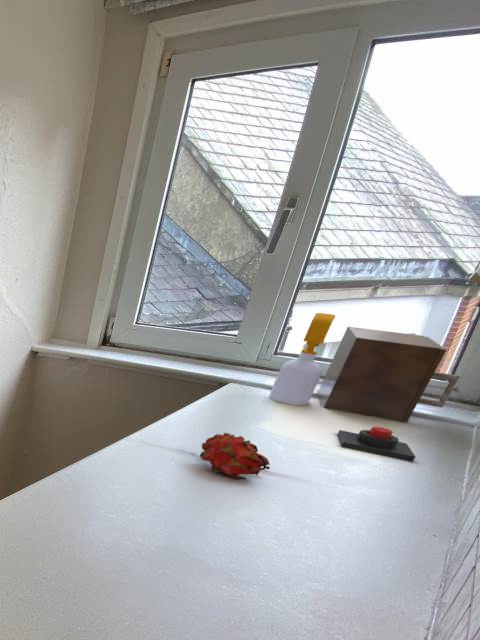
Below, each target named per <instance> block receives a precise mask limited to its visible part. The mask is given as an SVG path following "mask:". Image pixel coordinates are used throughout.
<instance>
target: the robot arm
mask: <svg viewBox="0 0 480 640" xmlns="http://www.w3.org/2000/svg"><path fill="white" fill-rule="evenodd" d="M467 280H468V282H471V283H475V284H479V285H480V260H479V261H478V263H476V266H475V268H474V270H473V272H472V274H471V275H469V277H468V278H467ZM476 306H477V307H478V311H480V300H479V301H478V303H477V305H476Z"/></svg>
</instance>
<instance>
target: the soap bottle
mask: <svg viewBox="0 0 480 640" xmlns="http://www.w3.org/2000/svg"><path fill="white" fill-rule="evenodd" d="M335 318H336V314H332V313H321V312H315V315H314V317H313V318H312V320H311V322H310V324H309V327H308V329H307V332H306V334H305V337H304V339H303V342H306V343H305V345H306V346H307V347H306V349H301V351H300V354H299V355H298V357H297V358H294V359H291V360H288V361H286V362H284V363H283V364H282V366H280V369H279V371H278V373H277V376H276V379H275V381H274V383H273V385H272V388H271V390H270V392H269V394H268V397H269V399H271V400H273V401H276V402H279V403H284V404H286V405H287V404H288V405H292V406H293V405H294V406H308V404H309V403H310V400H311V398H312V396H313V394H314V392H315V389H316V387H317V385H318V383H319V380H320V378H321V377H322V374H323V368H321V366H320V365H319V364H318V363H317V362H316V361H315V358H316V356H317V354H318V352H317V351H315V349H316V347H319V346H320V345H323V344H324V343H325V339H326V337H327V334H328V332H329V330H330V329H331V325H332V324H333V321H334V320H335Z"/></svg>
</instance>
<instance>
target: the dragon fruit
mask: <svg viewBox="0 0 480 640" xmlns="http://www.w3.org/2000/svg"><path fill="white" fill-rule="evenodd" d="M201 449H202V450H203V451H201V452H200V454H199V458H201V460H203V461H206V462H207V461H208V462H209V463H210V465H211V469H212V470H213V472H214V474H215V473H219V472H222V473H223V474H226V475H228V476H230V477H232V479H234V480H240V481H241V480H242V481H243V480H244V481H245V480H248V478H247V477H245V476H246V475H256V476H258V475H259V474H260V472H261V471H263V470H270V467H271V466H270V465H271V463H270V462H269V459H268V457H266V456H264V455H263V454H260V453H259V452H258V451H259V449H258V446H257V445H256V444H254V443H252V442H251V440H249V439H247V440H246V439H245V437H243V436H241V435H239V436H235V434H230V433H229V432H223V433H222V434H218V433H216V434H214V436H212V437H211V436H210V437H208V438H207V439H206V440H205V442H202V443H201ZM240 475H245V476H240Z"/></svg>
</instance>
